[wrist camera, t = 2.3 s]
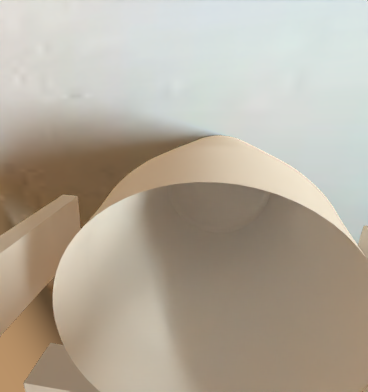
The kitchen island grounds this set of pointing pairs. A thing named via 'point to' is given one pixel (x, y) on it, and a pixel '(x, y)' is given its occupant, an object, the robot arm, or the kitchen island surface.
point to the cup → (215, 280)
